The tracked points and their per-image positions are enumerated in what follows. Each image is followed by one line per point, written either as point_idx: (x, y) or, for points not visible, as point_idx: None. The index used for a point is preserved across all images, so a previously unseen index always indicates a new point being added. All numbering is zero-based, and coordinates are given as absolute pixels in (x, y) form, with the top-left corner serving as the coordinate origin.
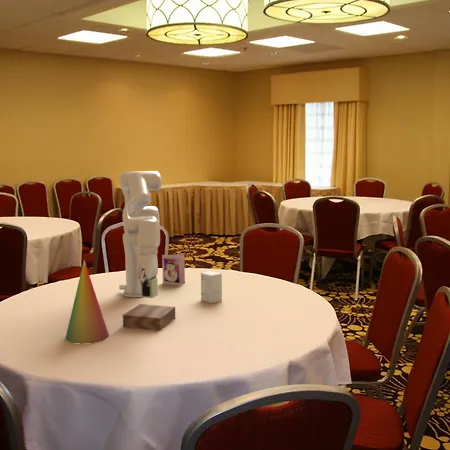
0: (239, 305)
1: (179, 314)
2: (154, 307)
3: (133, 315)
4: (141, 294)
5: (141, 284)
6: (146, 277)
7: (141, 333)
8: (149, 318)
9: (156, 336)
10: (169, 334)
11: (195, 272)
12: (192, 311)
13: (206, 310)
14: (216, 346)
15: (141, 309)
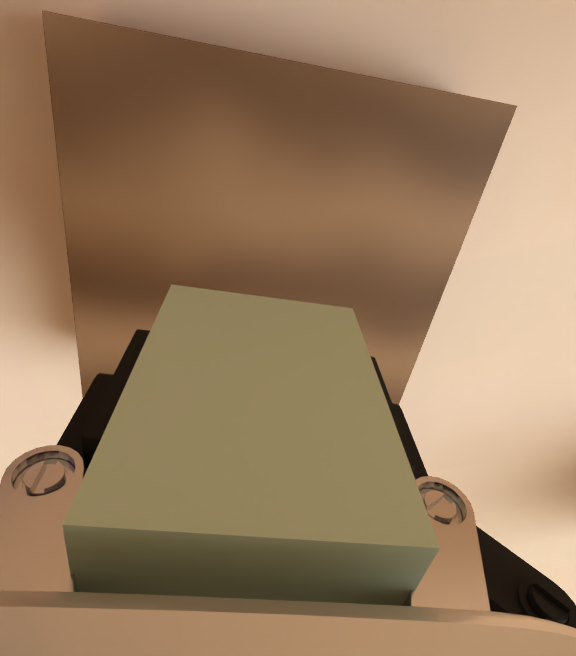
0: (571, 572)
1: (458, 379)
2: (373, 294)
3: (73, 161)
4: (161, 311)
5: (107, 438)
6: (425, 560)
7: (13, 243)
8: (78, 320)
9: (4, 348)
10: (71, 403)
11: None
12: (511, 429)
13: (517, 482)
14: None
15: (299, 187)
